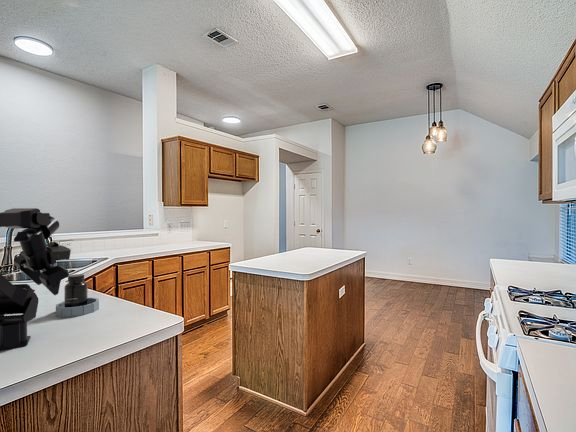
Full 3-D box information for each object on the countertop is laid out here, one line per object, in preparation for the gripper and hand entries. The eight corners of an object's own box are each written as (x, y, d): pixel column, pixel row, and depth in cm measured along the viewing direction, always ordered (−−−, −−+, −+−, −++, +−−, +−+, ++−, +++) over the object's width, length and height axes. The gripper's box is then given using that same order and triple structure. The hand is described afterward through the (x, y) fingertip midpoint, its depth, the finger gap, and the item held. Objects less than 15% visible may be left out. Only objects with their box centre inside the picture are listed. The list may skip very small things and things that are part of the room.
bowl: (99, 312, 109) (99, 303, 109) (54, 319, 102) (54, 310, 102) (98, 303, 120) (98, 295, 120) (57, 309, 113) (57, 301, 113)
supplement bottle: (67, 313, 106) (66, 278, 106) (62, 309, 111) (61, 275, 110) (90, 308, 111) (89, 275, 111) (84, 304, 116) (84, 272, 115)
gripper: (81, 245, 96) (90, 286, 102) (46, 228, 103) (57, 267, 110) (40, 262, 87) (54, 305, 93) (5, 242, 94) (20, 284, 101)
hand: (47, 289), depth 100 cm, fingers open, 9 cm apart
